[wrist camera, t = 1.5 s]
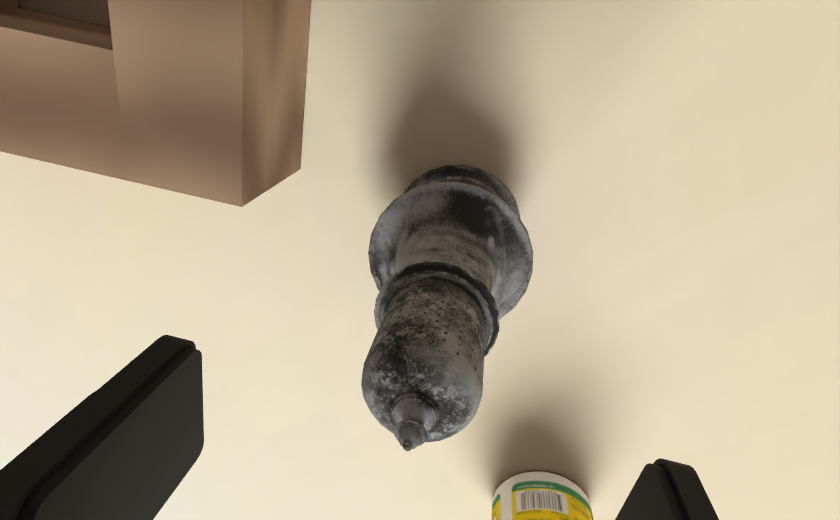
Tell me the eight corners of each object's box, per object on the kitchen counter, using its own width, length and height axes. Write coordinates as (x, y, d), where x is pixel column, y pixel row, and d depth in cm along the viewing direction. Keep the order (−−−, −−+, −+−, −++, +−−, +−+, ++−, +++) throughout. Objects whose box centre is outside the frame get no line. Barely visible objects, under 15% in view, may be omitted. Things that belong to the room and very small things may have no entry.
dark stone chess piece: (404, 294, 21) (311, 546, 11) (374, 170, 19) (217, 335, 8) (534, 280, 20) (575, 551, 9) (518, 146, 18) (550, 303, 7)
